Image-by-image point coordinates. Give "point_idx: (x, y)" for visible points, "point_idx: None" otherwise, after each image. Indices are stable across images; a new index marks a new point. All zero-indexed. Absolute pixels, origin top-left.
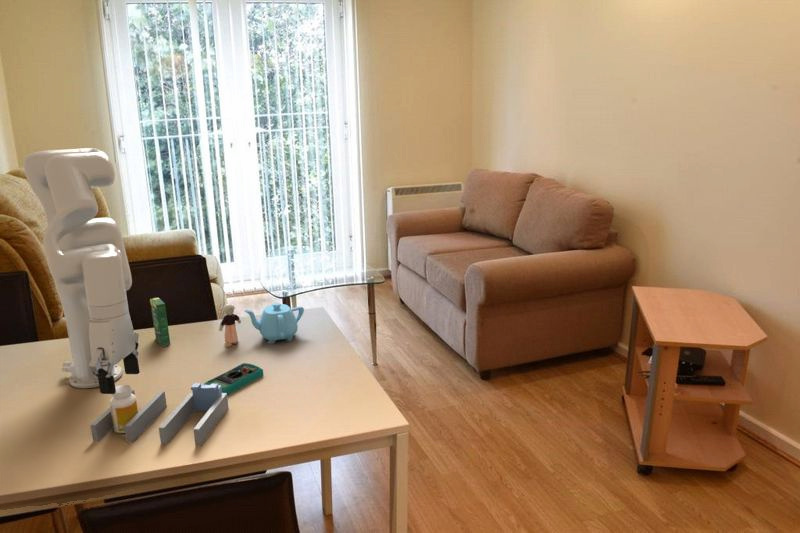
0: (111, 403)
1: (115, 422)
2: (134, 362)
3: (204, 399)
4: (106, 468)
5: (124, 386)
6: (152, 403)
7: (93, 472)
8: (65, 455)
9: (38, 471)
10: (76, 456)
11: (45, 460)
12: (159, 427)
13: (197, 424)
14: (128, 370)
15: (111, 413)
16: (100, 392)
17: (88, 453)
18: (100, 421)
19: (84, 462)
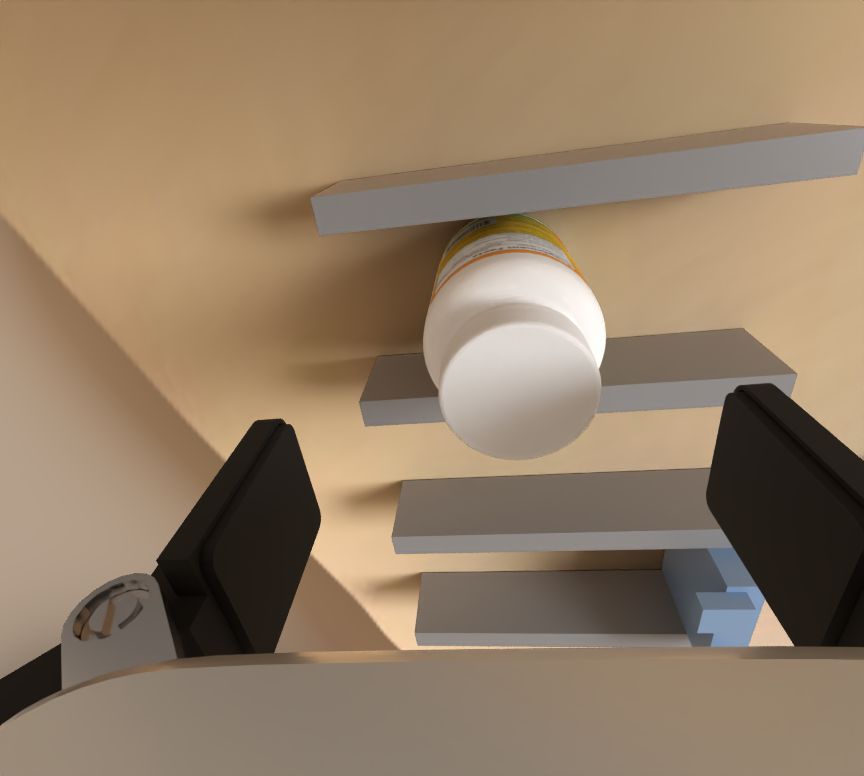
0: (435, 312)
1: (435, 280)
2: (783, 602)
3: (689, 570)
4: (204, 383)
5: (561, 403)
6: (619, 410)
7: (163, 352)
8: (185, 121)
9: (26, 84)
10: (206, 193)
11: (99, 31)
12: (393, 539)
13: (448, 634)
14: (740, 452)
15: (451, 261)
16: (255, 421)
17: (249, 237)
18: (373, 228)
19: (190, 269)
